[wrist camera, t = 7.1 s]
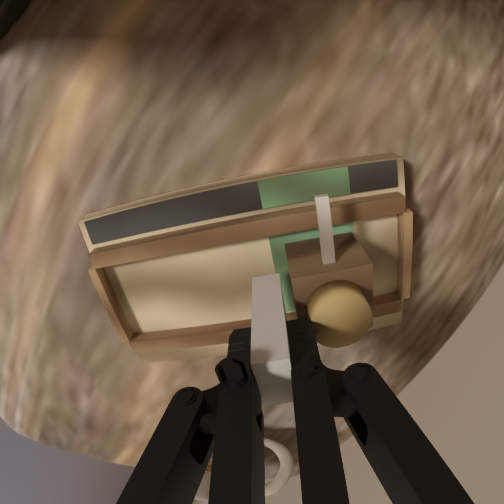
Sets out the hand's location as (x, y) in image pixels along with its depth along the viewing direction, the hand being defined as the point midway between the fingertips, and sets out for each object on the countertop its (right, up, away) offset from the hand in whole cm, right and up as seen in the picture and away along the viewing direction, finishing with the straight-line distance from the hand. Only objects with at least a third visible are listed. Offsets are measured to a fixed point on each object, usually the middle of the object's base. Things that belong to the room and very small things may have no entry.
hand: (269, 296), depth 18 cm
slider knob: (+3, +3, +1) cm, 4 cm away
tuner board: (-1, +1, +3) cm, 4 cm away
